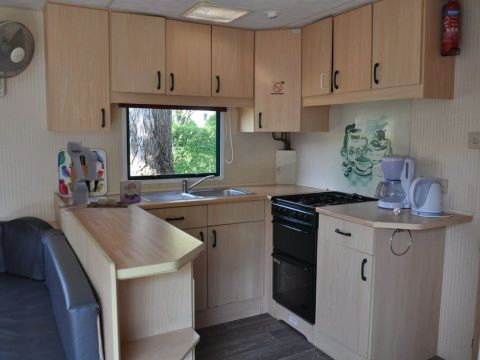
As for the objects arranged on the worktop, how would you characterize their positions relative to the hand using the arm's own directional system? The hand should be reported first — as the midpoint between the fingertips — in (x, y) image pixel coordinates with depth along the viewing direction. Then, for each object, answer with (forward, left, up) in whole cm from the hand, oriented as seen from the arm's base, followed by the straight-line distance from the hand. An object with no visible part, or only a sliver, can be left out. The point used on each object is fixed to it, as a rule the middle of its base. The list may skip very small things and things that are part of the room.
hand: (92, 192), depth 279 cm
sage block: (+12, 0, -9) cm, 15 cm away
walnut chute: (+10, 0, -10) cm, 15 cm away
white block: (+6, 0, -9) cm, 11 cm away
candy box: (+23, +18, -11) cm, 31 cm away
